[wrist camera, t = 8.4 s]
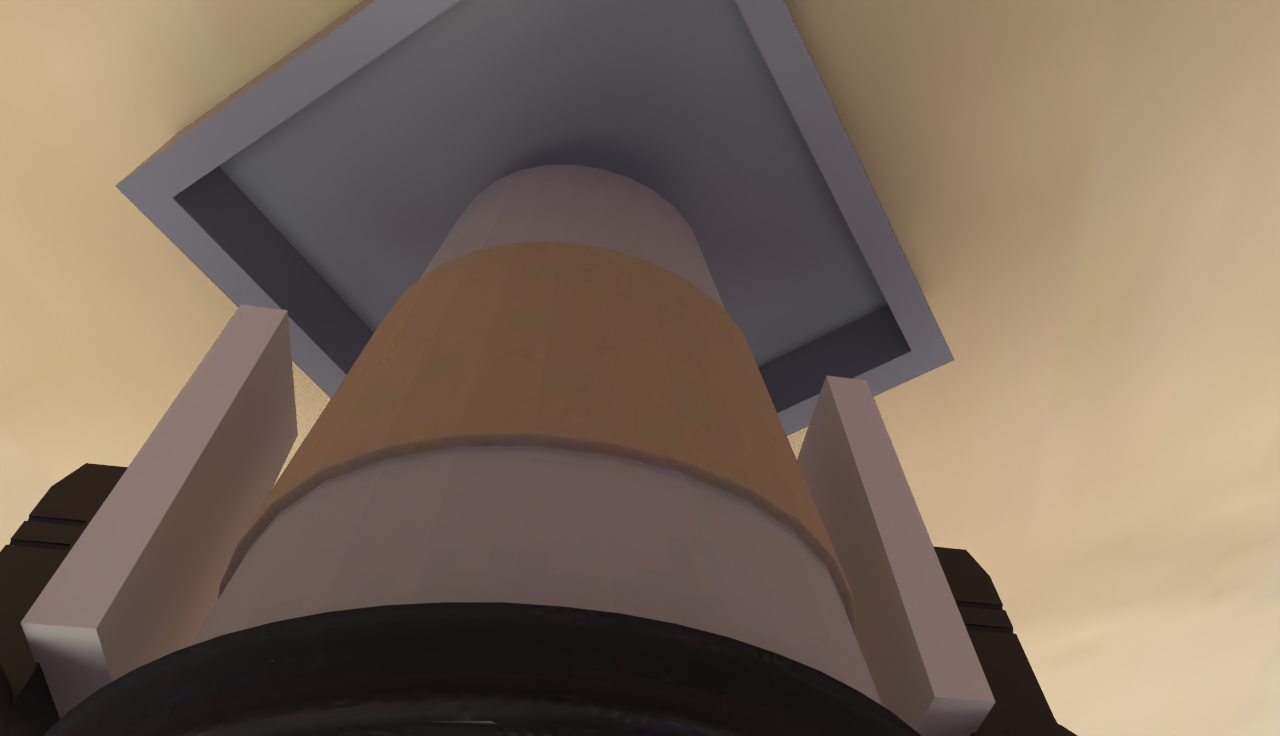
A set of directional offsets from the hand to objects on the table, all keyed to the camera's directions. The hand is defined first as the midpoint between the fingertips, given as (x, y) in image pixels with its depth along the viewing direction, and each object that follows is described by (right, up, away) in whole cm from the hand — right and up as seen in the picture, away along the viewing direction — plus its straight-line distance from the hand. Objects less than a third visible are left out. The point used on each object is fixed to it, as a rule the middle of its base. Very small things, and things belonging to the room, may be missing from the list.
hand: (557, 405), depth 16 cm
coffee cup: (0, +3, +4) cm, 5 cm away
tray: (0, +4, +6) cm, 8 cm away
